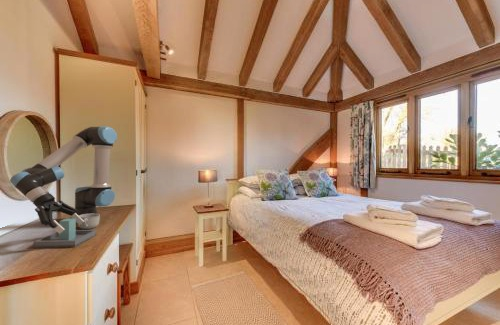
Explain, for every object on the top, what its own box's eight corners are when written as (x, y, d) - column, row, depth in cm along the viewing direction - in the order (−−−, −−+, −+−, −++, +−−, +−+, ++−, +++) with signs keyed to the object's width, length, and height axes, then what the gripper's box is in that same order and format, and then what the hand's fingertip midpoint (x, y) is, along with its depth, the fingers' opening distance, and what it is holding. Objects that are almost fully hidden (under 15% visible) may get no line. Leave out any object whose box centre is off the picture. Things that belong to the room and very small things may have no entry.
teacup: (84, 225, 131) (84, 212, 131) (103, 224, 133) (103, 212, 133) (69, 233, 117) (70, 219, 117) (91, 232, 119) (91, 218, 119)
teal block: (66, 237, 108) (66, 218, 108) (75, 237, 108) (75, 218, 108) (59, 240, 103) (59, 221, 103) (68, 240, 103) (69, 221, 103)
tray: (60, 235, 112) (61, 230, 112) (96, 235, 114) (96, 229, 114) (33, 247, 97) (33, 241, 97) (74, 247, 99) (75, 241, 98)
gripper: (55, 198, 116) (83, 224, 118) (9, 208, 91) (45, 241, 93) (66, 189, 117) (94, 215, 118) (22, 196, 92) (58, 229, 94)
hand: (72, 227), depth 106 cm, fingers open, 13 cm apart
